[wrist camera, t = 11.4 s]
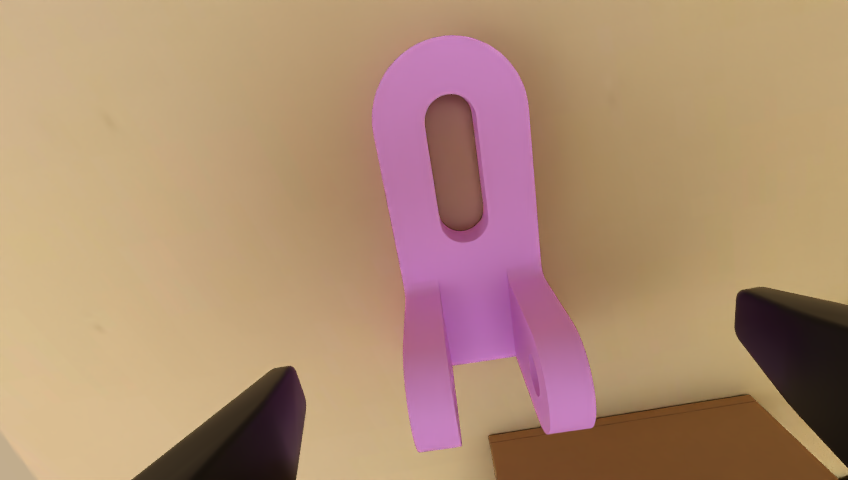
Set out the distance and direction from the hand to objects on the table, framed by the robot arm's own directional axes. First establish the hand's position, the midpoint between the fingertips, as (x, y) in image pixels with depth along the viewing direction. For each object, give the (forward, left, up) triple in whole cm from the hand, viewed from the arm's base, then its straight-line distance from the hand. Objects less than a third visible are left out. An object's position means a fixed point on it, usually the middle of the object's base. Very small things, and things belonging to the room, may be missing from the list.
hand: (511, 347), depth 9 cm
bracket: (0, 0, -10) cm, 10 cm away
